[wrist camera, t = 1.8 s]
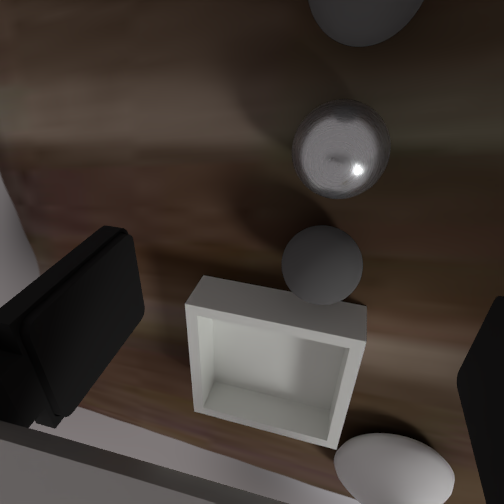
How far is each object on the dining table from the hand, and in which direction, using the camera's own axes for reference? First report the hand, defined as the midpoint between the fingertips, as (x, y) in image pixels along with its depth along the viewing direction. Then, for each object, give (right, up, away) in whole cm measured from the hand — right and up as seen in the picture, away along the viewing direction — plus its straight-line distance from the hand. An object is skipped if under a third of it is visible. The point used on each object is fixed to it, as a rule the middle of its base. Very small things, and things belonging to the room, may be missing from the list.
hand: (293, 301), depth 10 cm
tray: (+1, -8, +25) cm, 26 cm away
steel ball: (+4, +7, +11) cm, 14 cm away
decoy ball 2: (+4, 0, +16) cm, 16 cm away
